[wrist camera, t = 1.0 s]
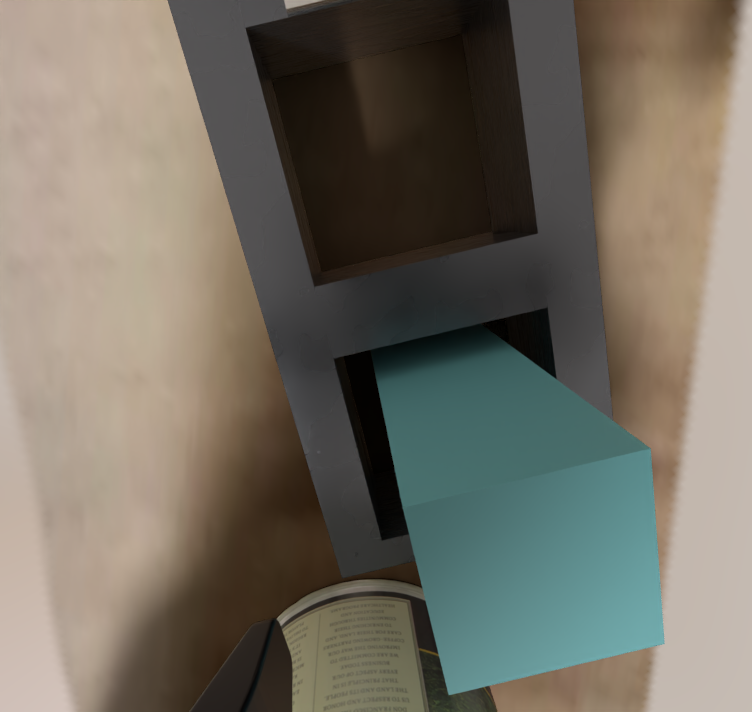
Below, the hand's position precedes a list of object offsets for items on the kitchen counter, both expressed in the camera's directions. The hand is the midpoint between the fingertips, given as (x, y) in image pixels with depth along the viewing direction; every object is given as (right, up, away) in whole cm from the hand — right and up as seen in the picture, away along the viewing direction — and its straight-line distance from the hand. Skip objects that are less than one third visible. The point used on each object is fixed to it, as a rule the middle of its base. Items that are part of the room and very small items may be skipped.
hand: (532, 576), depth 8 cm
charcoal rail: (-1, +6, +8) cm, 11 cm away
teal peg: (-1, +3, +9) cm, 10 cm away
